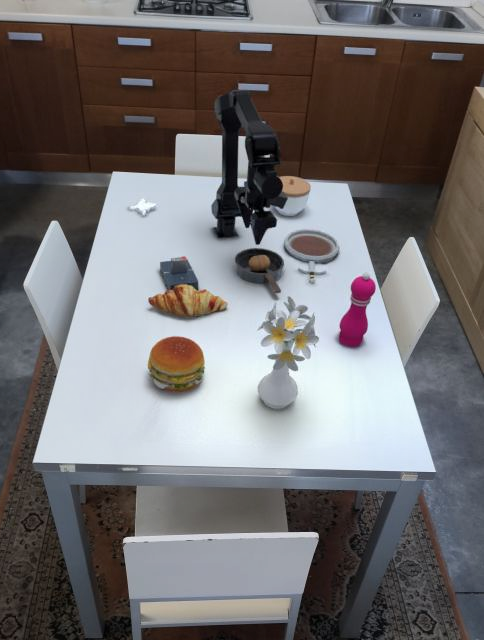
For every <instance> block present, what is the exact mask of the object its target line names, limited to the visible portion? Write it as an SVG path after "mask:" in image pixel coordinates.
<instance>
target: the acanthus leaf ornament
mask: <svg viewBox="0 0 484 640" xmlns="http://www.w3.org/2000/svg"><path fill="white" fill-rule="evenodd" d="M156 207H157V204H156V203H153V202H150V201H148V202H146V199H145V198H140V200H139V201H138V202H137V204H136V205H130V206H129V210H130V211H136V212H138V214H139V215H141V216H142V217H145V216H146V215H147V213H150V211H155V210H156Z"/></svg>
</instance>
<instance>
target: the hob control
mask: <svg viewBox="0 0 484 640" xmlns="http://www.w3.org/2000/svg"><path fill="white" fill-rule="evenodd" d="M159 271H160V274H161V276H162V279H163V281H164V283H165V285H166V288H167V290H173V289H174V287H175V286H177V285H182V284H183V285H184V284H187V285H190V286H193V287H194V288H195V289H196V290H197V291H199V280H198V278H197V276H196V274H195V272H194V268H193V267H192V266H191V263H190V261H189V260H188V259H187V272H182V273H173V274H172V272H171V260H165V261H159Z"/></svg>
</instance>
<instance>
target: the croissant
mask: <svg viewBox="0 0 484 640" xmlns="http://www.w3.org/2000/svg"><path fill="white" fill-rule="evenodd" d="M147 299H148V303H149V305H150V306H152V307H154V308H156V309H158V310H159V311H161V312H163V313H165V314H168V315H169V314H170V315H173V316H176V317H188V318H189V317H191V318H192V317H197V316H202V315H204V314H205V315H208V314H211V313H213V312H216V311H217V312H220V311H223V310H225V309H227V307H228V305H229V303H228V302H227V301H225V300H224V299H223V298H222V297H220V296H219V295H214V294H212V293H211V292H210V291H209V290H207V289H201V290H198V291H197V290H196V289H195V288H194V287H193V286H190V285H187V284H184V285H183V284H182V285H177V286H175V287H174V289H173V290H168V289H166V290H165V291H164V292H163V294H162V293H157V294H155V295H154V296H150V297H148V298H147Z"/></svg>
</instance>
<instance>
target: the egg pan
mask: <svg viewBox="0 0 484 640" xmlns="http://www.w3.org/2000/svg"><path fill="white" fill-rule="evenodd" d="M258 255H265V256H267V257H268V258H269V260H270V266H269V268H268V269H267V270H265V271H257V272H255V271H252V270H251V269H250V267H249V260H250V259H251V258H252V257H253V256H258ZM233 269H234V272H235V274H236V276H238V277H239V278H240V279H242V280H244V281H246V282H248V283H253V284H269V283H268V282H267V280H266V279H265V275H266V274H271V275H272V277H273V278H274V280H275V281H278V280H279V279H281V278H282V276H283V274H284V269H285V260H284V259H283V256H281V255H280V254H279V253H278V252H275V251H273V250H271V249H267V248H261V247H250V248H246V249H243V250H241V251H240V252H239V251H238V253H236V255H235V257H234V268H233Z"/></svg>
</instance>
